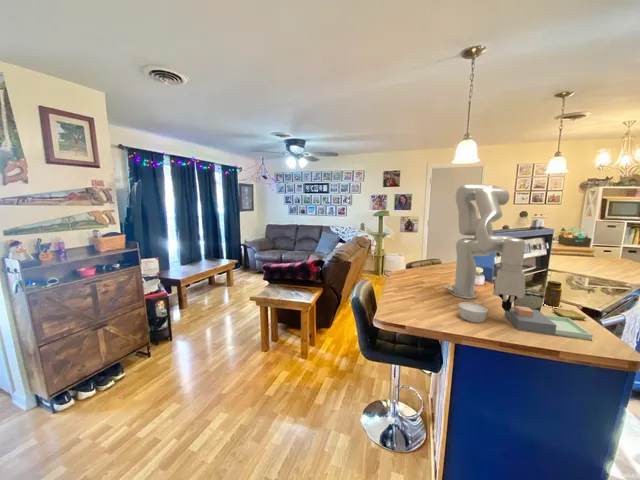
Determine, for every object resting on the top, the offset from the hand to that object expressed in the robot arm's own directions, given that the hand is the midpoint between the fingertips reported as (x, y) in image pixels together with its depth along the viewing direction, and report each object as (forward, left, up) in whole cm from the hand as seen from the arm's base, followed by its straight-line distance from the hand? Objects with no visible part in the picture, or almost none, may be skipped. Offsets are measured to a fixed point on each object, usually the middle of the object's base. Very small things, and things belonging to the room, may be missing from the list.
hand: (506, 309), depth 112 cm
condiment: (+28, +31, -5) cm, 42 cm away
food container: (+12, +16, -5) cm, 21 cm away
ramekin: (-13, -2, -5) cm, 14 cm away
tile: (+6, 0, -1) cm, 6 cm away
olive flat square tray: (+29, +17, -6) cm, 34 cm away
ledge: (+8, 0, -5) cm, 10 cm away
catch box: (+20, 0, -5) cm, 20 cm away
